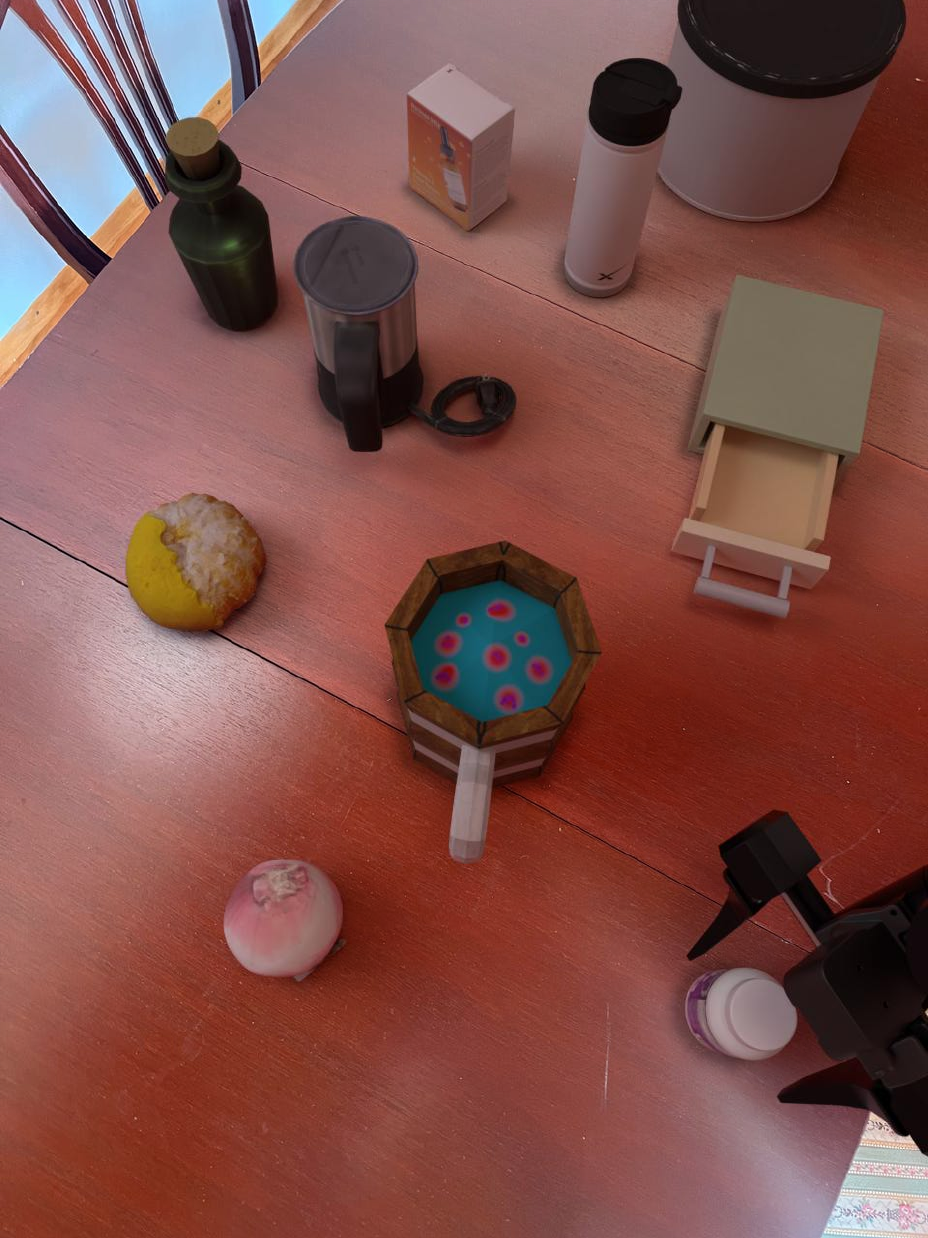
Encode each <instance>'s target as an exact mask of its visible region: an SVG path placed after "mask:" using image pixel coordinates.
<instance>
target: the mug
mask: <svg viewBox="0 0 928 1238" xmlns="http://www.w3.org/2000/svg"><path fill="white" fill-rule="evenodd" d="M383 626H384V628H385V633H386V637H387V641H388V644H389V648H390V652H391V656H392V657H391V659H392V660H391V666H392V670H393V674H394V678H395V682H396V685H397V692H396V697H397V701H398V705H399V708H400V712H401V716H402V720H403V724H404V727H405V732H406V737H407V741H408V745H409V748H410V751H411V755H412V759H413V760H414V761H416V762H418V763H419V764H421V765H423V766H424V767H426V768H428V769H429V770H432V771H433V772H435V773H437V774H438V775H440V776H442V777H444V778H445V779H447V780H448V781H451V782H452V783H454V784H456V785H455V786H456V787H455V791H454V792H455V793H454V800H453V805H452V806H453V807H452V813H451V822H450V823H451V824H450V830H449V841H448V849H449V855H450V857H451V858H452V860H453V861H455V862H458V863H462V864H463V865H468V864H476V863H478V862H479V861H481V859H482V858H483V854H484V852H485V846H486V839H487V833H488V824H489V815H490V808H491V799H492V790H493V789H496V788H501V787H504V786H507V785H511V784H512V785H513V784H515V783H520V782H523V781H527V780H531V779H533V778H539V777H541V776H542V775H543V773H544V771H545V769H546V767H547V765H548V763H549V762H550V759H552V756H553V754H554V752H555V751H556V749H557V747H558V745H559V743H560V742H561V739H562V738H563V737H564V734H565V733H566V731H567V729H568V727H569V726H570V724H571V721H573V718H574V710H575V708H576V706H577V704H578V702H579V701H580V699H581V697H582V696H583V693H584V692H585V690H586V685H587V680H588V678H589V677H590V674H591V673H592V672H593V670H594V668H595V665H596V664H597V662H598V661H599V659H600V656H601V655H602V653H603V651H602V648H601V645H600V642H599V639H598V636H597V633H596V630H595V627H594V625H593V621H592V619H591V616H590V613H589V610H588V607H587V604H586V601H585V598H584V595H583V592H582V590H581V586H580V584H579V580H578V578H577V576H574V575H573V574H571V573H569V572H567V571H565V570H563V569H561V568H559V567H557V566H555V565H553V564H552V563H550V562H547V561H546V560H544V559H542V558H540V557H538V556H536V555H534V554H532V553H530V552H529V551H527V550H525V549H523V548H520V547H519V546H517V545H515V544H513V543H511V542H509V541H507V540H500V541H497V542H493V543H489V544H484V545H480V546H475V547H472V548H467V549H463V550H459V551H455V552H450V553H447V554H443V555H442V554H441V555H439V556H438V555H437V556H434V557H430V558H426V560H425V561H424V563H423V565H422V566H421V568H420V569H419V571H418V572H417V573H416V575H415V577H414V578H413V580H412V581H411V582H410V585H409V586H408V587H407V589H406V590H405V592H404V593H403V595H402V597H401V599H400V600H399V601H398V603H397V605H395V608H394V609H393V611H392V612H391V614H390V615H389V617H388V618H387V620H386V621H385V622H384V625H383Z"/></svg>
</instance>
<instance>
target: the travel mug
mask: <svg viewBox="0 0 928 1238" xmlns="http://www.w3.org/2000/svg"><path fill="white" fill-rule="evenodd" d="M667 66H668V65H666V64H664V63H662V62H661V61H657V60H655V59H652V58H645V57H628V58H624V59H619V60H616V61H613V62H612V63H610V64H609V65H607V66H606V67H605V68H604V70H603V71H601V72H600V73H599V74H598V75H597V76H596V77H595V79H594V81H593V84H592V89H591V95H590V99H589V100H590V102H589V106H588V108H587V109H588V110H587V114H586V121H585V128H584V133H583V140H582V147H581V151H580V152H581V153H580V158H579V165H578V172H577V177H576V184H575V190H574V197H573V203H572V209H571V214H570V222H569V228H568V236H567V242H566V247H565V254H564V261H563V274H564V278H565V279H566V281H567V282H568V284H569V285H570V286H571V287H572V288H573V289H574V290H576V291H577V292H578V293H580V294H583V295H586V296H589V297H594V298H605V297H610V296H613V295H616V294H618V293H619V292H621V291H622V290H623V289H624V288H626V287H627V285H628V284H629V282H630V280H631V276H632V273H633V270H634V269H633V268H634V265H635V261H636V257H637V253H638V250H639V247H640V246H639V245H640V242H641V238H642V234H643V229H644V225H645V223H646V222H645V221H646V218H647V213H648V209H649V205H650V202H651V198H652V194H653V189H654V186H655V182H656V178H657V174H658V172H657V170H658V167H659V163H660V159H661V155H662V151H663V147H664V143H665V139H666V135H667V131H668V127H669V122H670V115H671V112H672V109H674V108H675V107H676V105H677V104H678V102H679V101H680V99H681V94H682V87H681V86H678V84H677V79H676V77H675V74H674V73H673V72H672V71H671V69H669V68H668V67H667Z"/></svg>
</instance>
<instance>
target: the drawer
mask: <svg viewBox="0 0 928 1238" xmlns="http://www.w3.org/2000/svg"><path fill="white" fill-rule="evenodd" d="M838 457H839V454H837V453H833V452H829V451H825V450H821V449H817V448H814V447H810V446H806V445H802V444H798V443H794V442H790V441H786V440H782V439H778V438H775V437H771V436H767V435H763V434H759V433H755V432H751V431H747V430H743V429H739V428H736V427H732V426H728V425H724V424H720V423H716V422H712V421H711V426H710V430H709V434H708V438H707V442H706V447H705V451H704V455H703V454H702V458H701V459H702V460H701V464H700V468H699V472H698V476H697V481H696V485H695V489H694V492H693V496H692V501H691V504H690V505H691V506H690V510H689V513H688V517H684V518H683V520H682V522H681V524H680V525H679V528H678V530H677V532H676V534H675V537H674V539H673V541H672V546H671V553H675V554H678V555H682V556H687V557H690V558H693V559H697V560H700V561H703V564H702V569H701V572H700V576H698V577H697V579H696V581H695V583H694V584H695V585H694V588H693V595H696V596H699V597H703V598H707V599H710V600H714V601H718V602H721V603H725V604H728V605H732V606H737V607H739V608H744V609H747V610H751V611H754V612H758V613H762V614H765V615H769V616H772V617H776V618H779V619H783V620H784V619H786V617H788V613H789V611H790V607H791V601H790V600H788V595H789V589H790V585H793V586H796V587H801V588H803V589H807V590H808V589H809V590H813V588H814V587H815V586H816V584H818V582H819V581H820V580H821V579H822V578H823V577H824V576H825V575H826V574H827V572H828V571H830V566H831V561H832V560H831V559H832V557H831V556H830V555H826V554H822V553H820V552H819V553H818V552H815V551H816V550H817V549H818V548H819V547H820V545H821V544H822V543H823V542H824V540H825V535H826V530H827V524H828V519H829V513H830V508H831V501H832V496H833V490H834V488H833V486H834V480H835V474H836V469H837V463H838ZM713 564H716V565H720V566H723V567H727V568H731V569H734V570H738V571H742V572H745V573H749V574H753V575H757V576H760V577H763V578H767V579H771V580H775V581H779V587H778V593H777V596H772V595H769V594H765V593H762V592H758V591H754V590H750V589H747V588H744V587H739V586H736V585H732V584H728V583H725V582H721V581H718V580H713V579H710V576H711V572H712V567H713Z"/></svg>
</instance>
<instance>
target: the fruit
mask: <svg viewBox="0 0 928 1238" xmlns="http://www.w3.org/2000/svg"><path fill="white" fill-rule="evenodd" d="M249 522H250V521H249V519H247V518H246V517H245V516H244V514H243V513H242V512H240V511H239V509H237V508H236V506H235V505H234V504H232V503H231V502H229V501H225V500H219V499H218V498H217V497H216V496H215V495H210V494H207V493H195V492H191V493H188V494H185V495H183V496H181V497H180V498H179V499H178V500H177V501H175V500H174V501H170V502H165V503H162V504H161V505H160V506H159V507H157V509H155V510H149V511H147V512H146V513H144V515H143V516H141V517H140V518H139V520H138V521H137V522H136V523H135V525H134V526H133V530H132V533H131V535H130V539H129V542H128V545H127V550H126V554H125V578H126V579H125V580H126V584H127V587H128V591H129V594H130V597H131V599H133V601H134V602H135V603H136V605H137V606H138V608H139V609H140V610H141V611H142V612H143V614H144V615H145V616H146V617H147V618H148V619H149V620H151V622H153V623H155V624H157V625H159V626H161V627H163V628H166V629H168V630H174V631H175V630H176V631H182V632H187V633H188V632H189V633H193V632H195V633H196V632H198V633H201V632H207V631H212V630H216V629H218V628H221V627H223V626H224V621H225V620H227V619H228V618H229V617H230V616H231V615H232V613H233V612H234V611H235V610H237V609H240V608H241V607H243V605H244V604H247V603H249V601H250V600H251V599H252V598H253V596H254V595H255V594H256V593H258V591H257V582H258V577H259V576H260V575H261V573H262V572H263V571H264V569H265V566H266V561H267V557H268V555H267V553H266V552H265V549H264V544H263V541H262V539H261V537H260V535H259V533H258V532H257V530H255V529H254V528H253V527H252V526H251V525H250V523H249Z"/></svg>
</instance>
